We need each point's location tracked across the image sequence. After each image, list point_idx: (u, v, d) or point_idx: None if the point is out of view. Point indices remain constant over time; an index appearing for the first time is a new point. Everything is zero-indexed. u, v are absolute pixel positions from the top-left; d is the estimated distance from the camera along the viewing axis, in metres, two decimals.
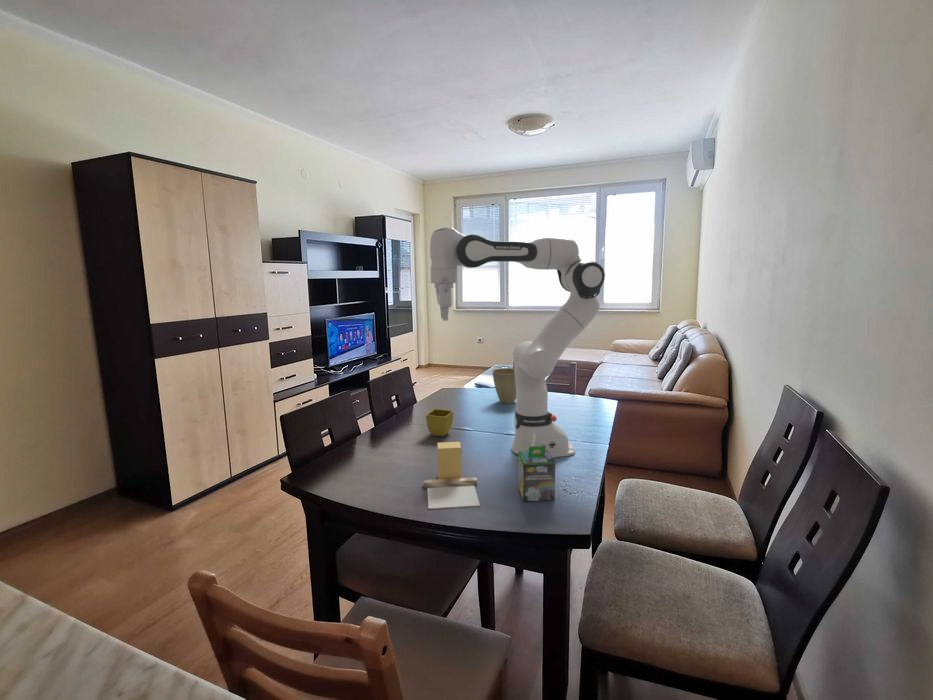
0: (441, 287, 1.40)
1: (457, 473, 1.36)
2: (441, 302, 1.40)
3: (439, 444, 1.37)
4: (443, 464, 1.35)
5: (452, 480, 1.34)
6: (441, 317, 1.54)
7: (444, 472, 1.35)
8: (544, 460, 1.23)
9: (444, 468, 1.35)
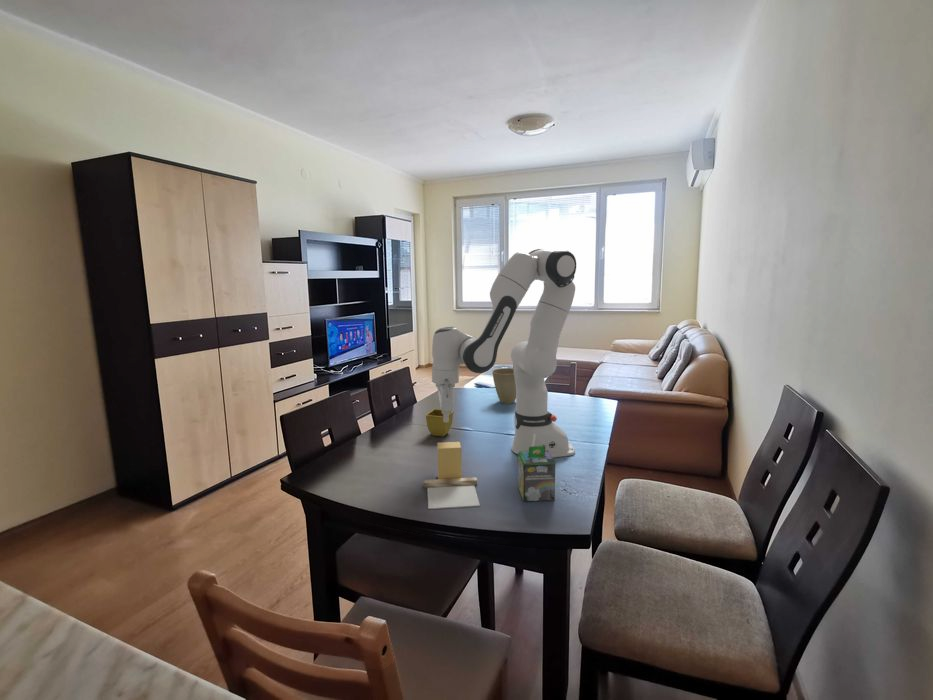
0: (442, 392, 1.37)
1: (457, 473, 1.36)
2: (442, 407, 1.37)
3: (439, 444, 1.37)
4: (443, 464, 1.35)
5: (452, 480, 1.34)
6: None
7: (444, 472, 1.35)
8: (544, 460, 1.23)
9: (444, 468, 1.35)
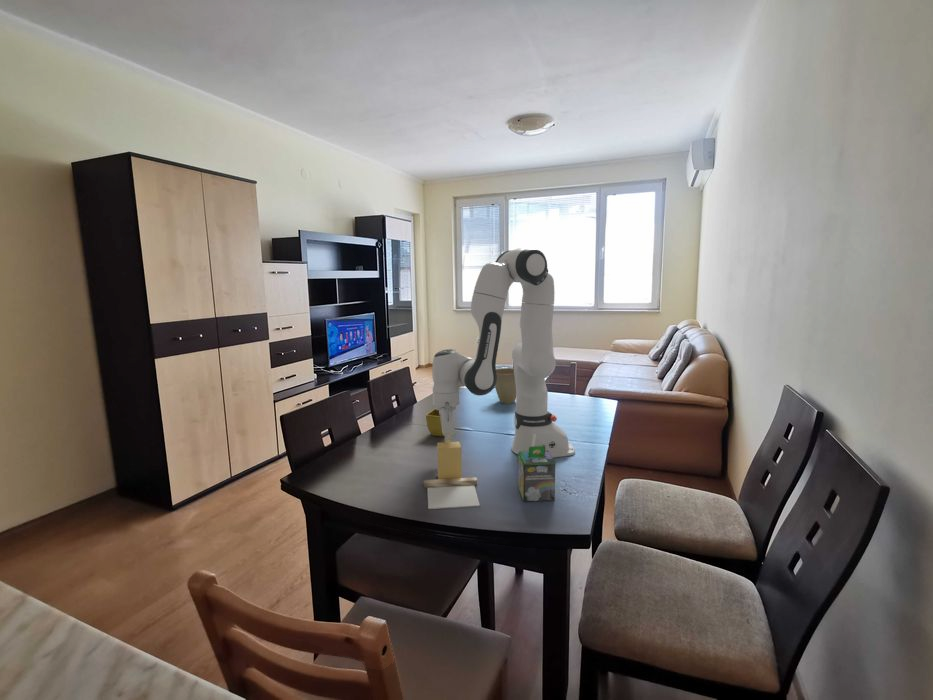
0: (443, 416, 1.38)
1: (457, 473, 1.36)
2: (443, 431, 1.38)
3: (439, 444, 1.37)
4: (443, 464, 1.35)
5: (452, 480, 1.34)
6: None
7: (444, 472, 1.35)
8: (544, 460, 1.23)
9: (444, 468, 1.35)
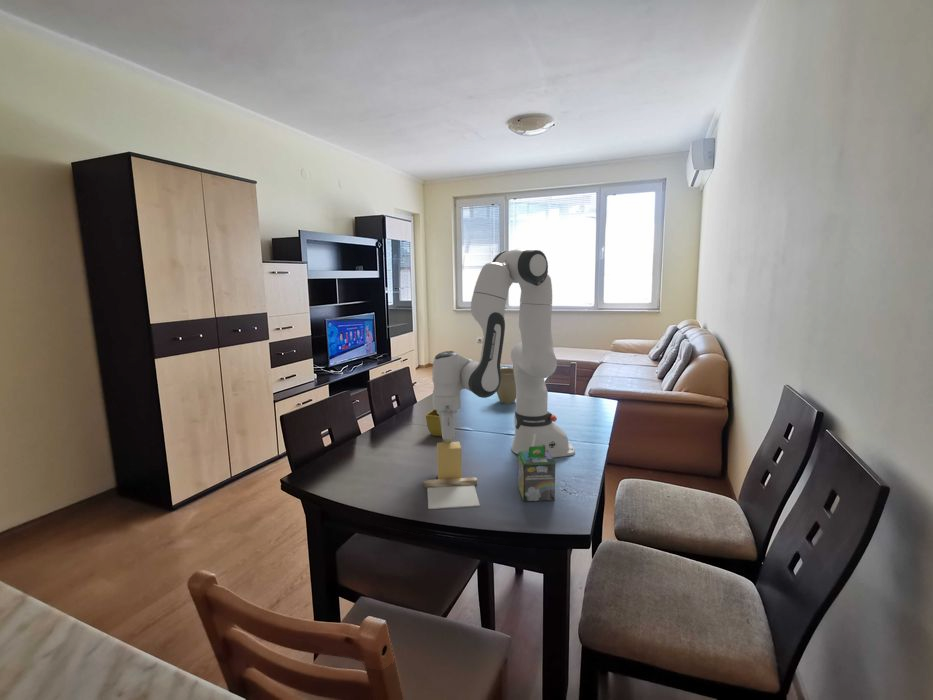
0: (444, 420, 1.33)
1: (457, 473, 1.35)
2: (443, 436, 1.33)
3: (439, 444, 1.37)
4: (443, 464, 1.34)
5: (452, 480, 1.34)
6: None
7: (444, 472, 1.35)
8: (544, 460, 1.23)
9: (444, 469, 1.35)
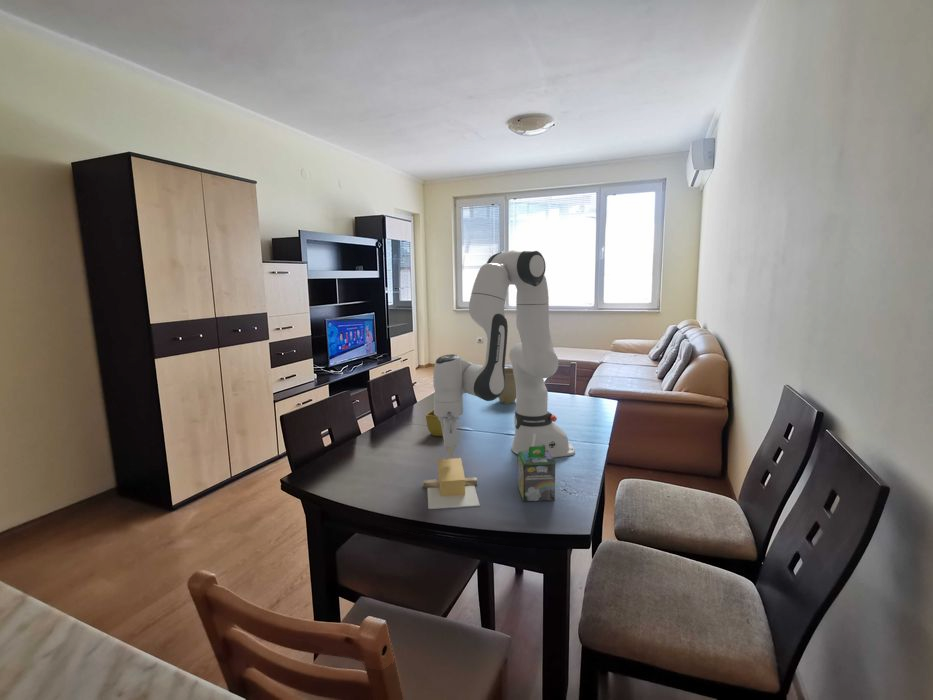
0: (445, 427, 1.27)
1: None
2: (445, 443, 1.27)
3: (442, 486, 1.25)
4: None
5: None
6: None
7: None
8: (544, 460, 1.23)
9: None
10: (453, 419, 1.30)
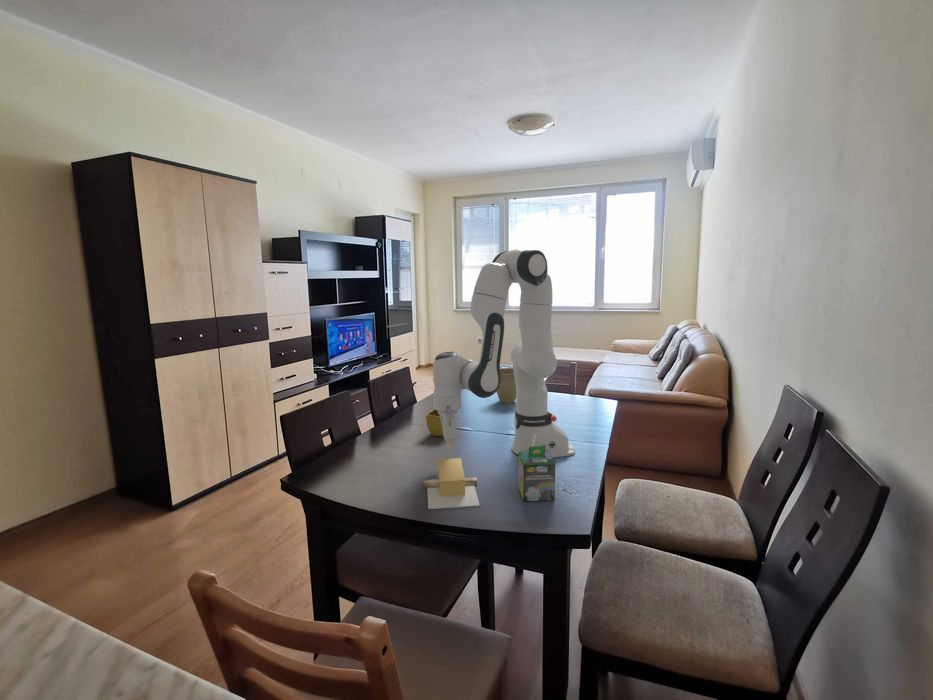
0: (445, 420, 1.34)
1: None
2: (445, 436, 1.34)
3: (442, 486, 1.25)
4: None
5: None
6: None
7: None
8: (544, 460, 1.23)
9: None
10: (452, 413, 1.37)
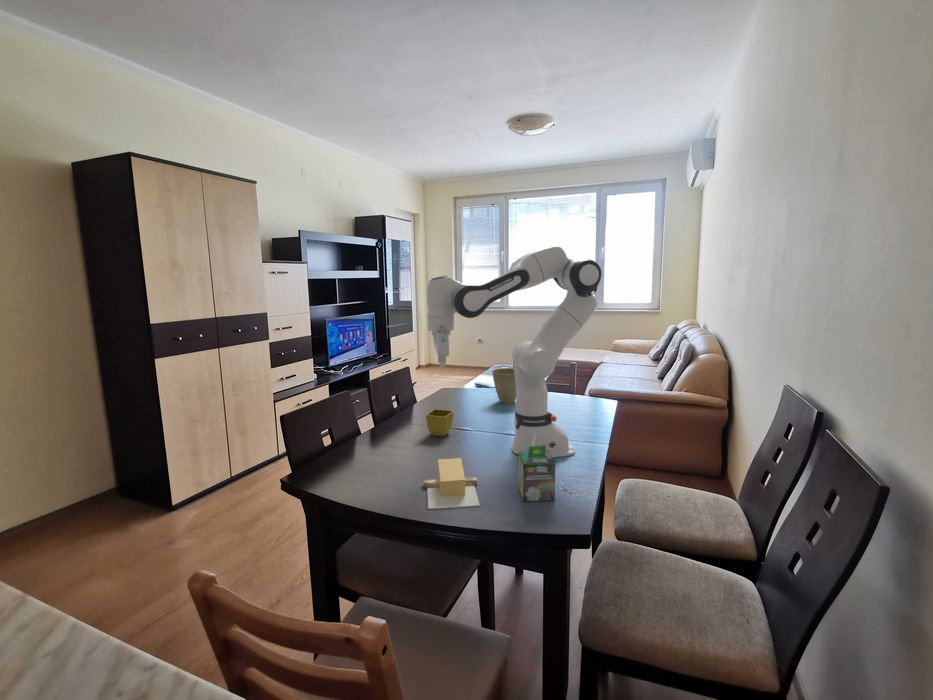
0: (438, 337, 1.40)
1: None
2: (439, 352, 1.40)
3: (442, 486, 1.25)
4: None
5: None
6: None
7: None
8: (544, 460, 1.23)
9: None
10: None
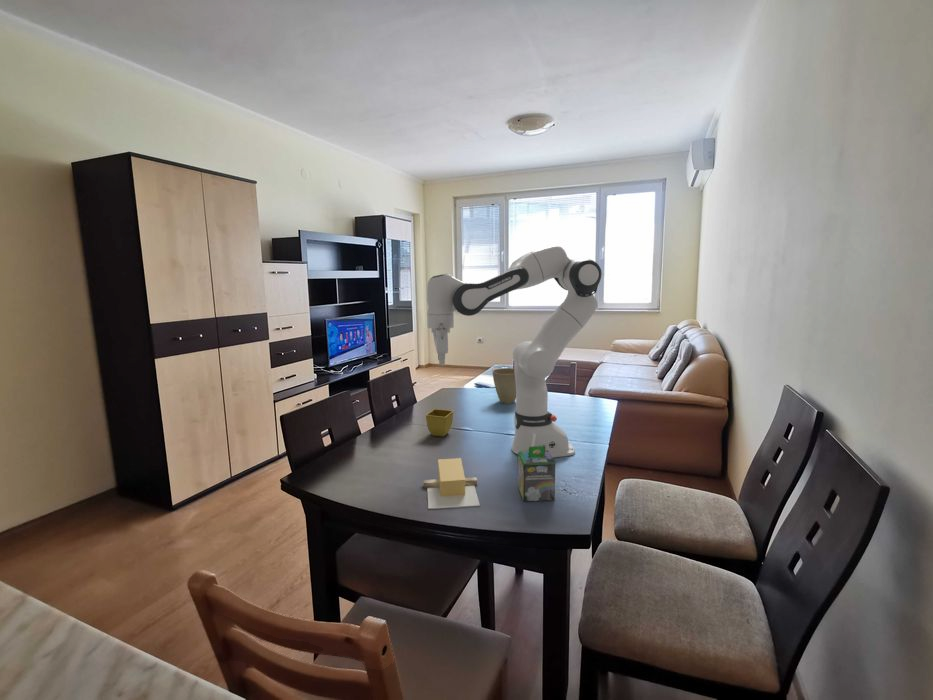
0: (438, 334, 1.42)
1: None
2: (438, 349, 1.42)
3: (442, 486, 1.25)
4: None
5: None
6: (438, 359, 1.56)
7: None
8: (544, 460, 1.23)
9: None
10: (445, 329, 1.45)
